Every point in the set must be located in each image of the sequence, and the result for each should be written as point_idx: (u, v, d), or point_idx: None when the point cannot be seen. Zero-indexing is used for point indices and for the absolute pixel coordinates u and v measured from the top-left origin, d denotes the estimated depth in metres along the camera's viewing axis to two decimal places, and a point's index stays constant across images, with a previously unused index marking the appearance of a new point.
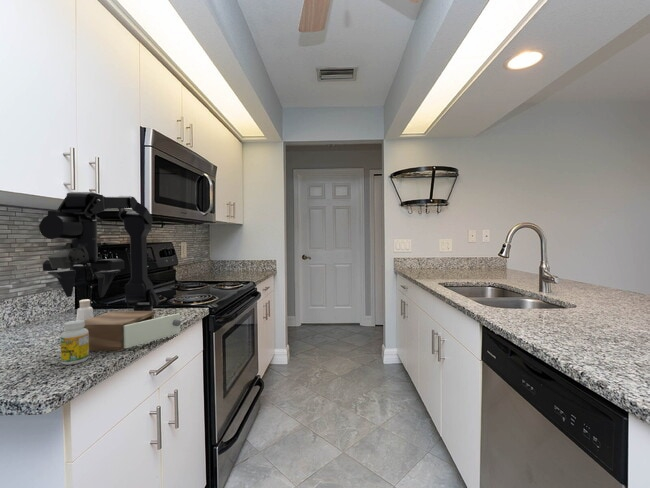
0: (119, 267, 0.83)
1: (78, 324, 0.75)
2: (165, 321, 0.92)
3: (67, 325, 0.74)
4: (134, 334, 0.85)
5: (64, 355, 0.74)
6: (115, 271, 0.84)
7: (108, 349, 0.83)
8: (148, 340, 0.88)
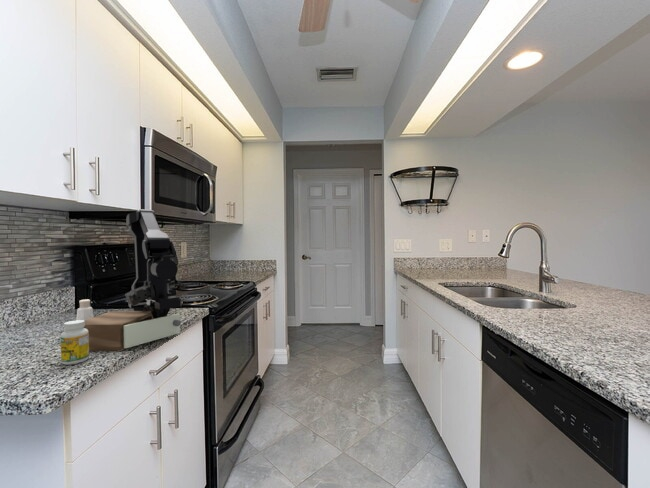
0: (173, 305, 0.90)
1: (78, 324, 0.75)
2: (165, 321, 0.92)
3: (67, 325, 0.74)
4: (134, 334, 0.85)
5: (64, 355, 0.74)
6: None
7: (108, 349, 0.83)
8: (148, 340, 0.88)
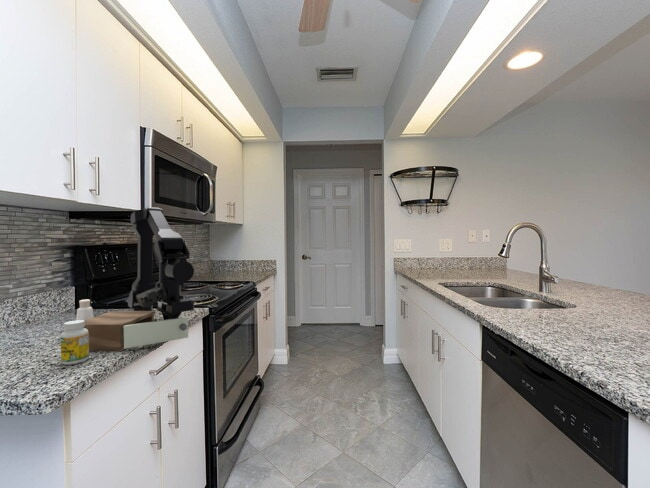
0: (186, 309, 0.86)
1: (78, 324, 0.75)
2: (171, 324, 0.89)
3: (67, 325, 0.74)
4: (133, 335, 0.84)
5: (64, 355, 0.74)
6: None
7: (108, 349, 0.83)
8: (150, 342, 0.86)
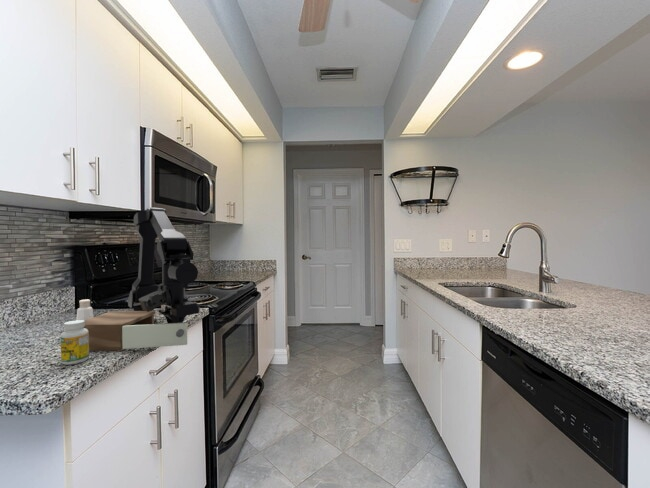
0: (191, 312, 0.82)
1: (78, 324, 0.75)
2: (168, 329, 0.84)
3: (67, 325, 0.74)
4: (131, 337, 0.83)
5: (64, 355, 0.74)
6: None
7: (108, 349, 0.83)
8: (147, 345, 0.83)
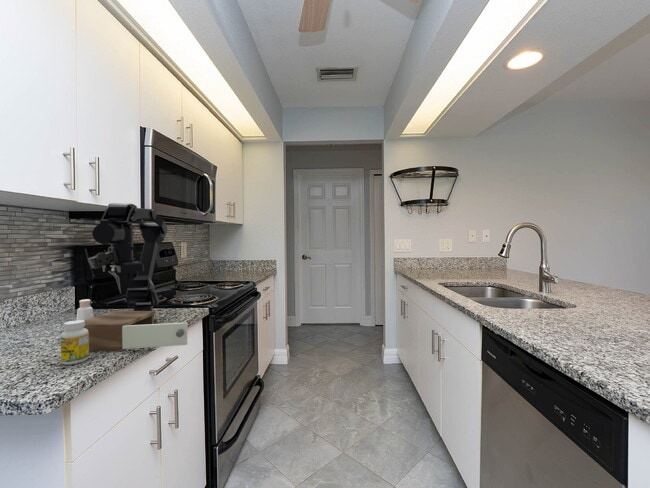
0: (135, 269, 0.91)
1: (78, 324, 0.75)
2: (168, 329, 0.84)
3: (67, 325, 0.74)
4: (131, 337, 0.83)
5: (64, 355, 0.74)
6: (129, 272, 0.95)
7: (108, 349, 0.83)
8: (147, 345, 0.83)
